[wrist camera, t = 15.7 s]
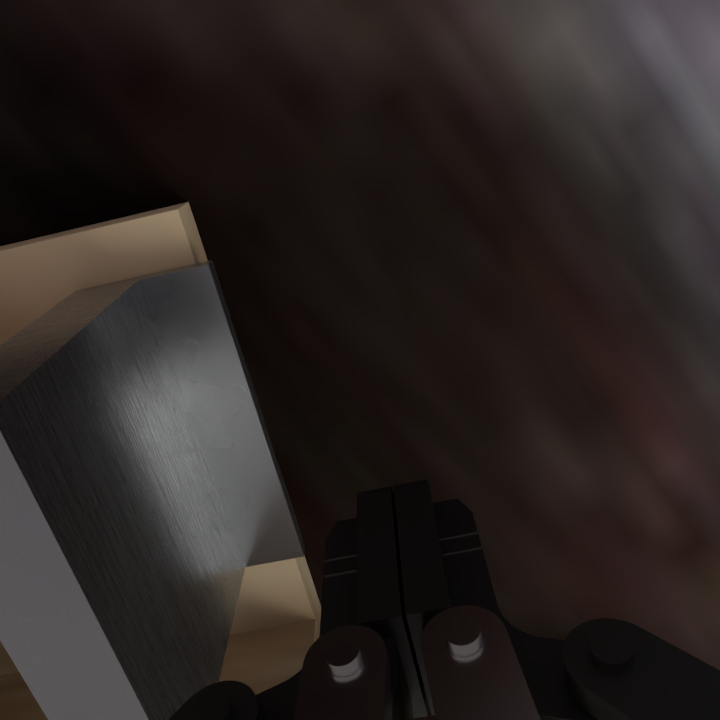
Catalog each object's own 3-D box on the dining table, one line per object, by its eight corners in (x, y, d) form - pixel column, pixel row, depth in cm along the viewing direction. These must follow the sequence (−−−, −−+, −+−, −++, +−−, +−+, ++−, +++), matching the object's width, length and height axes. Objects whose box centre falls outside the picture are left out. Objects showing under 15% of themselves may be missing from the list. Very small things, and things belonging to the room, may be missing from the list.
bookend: (305, 546, 21) (278, 788, 14) (191, 567, 22) (105, 815, 14) (212, 259, 17) (107, 385, 10) (74, 291, 18) (-124, 435, 10)
